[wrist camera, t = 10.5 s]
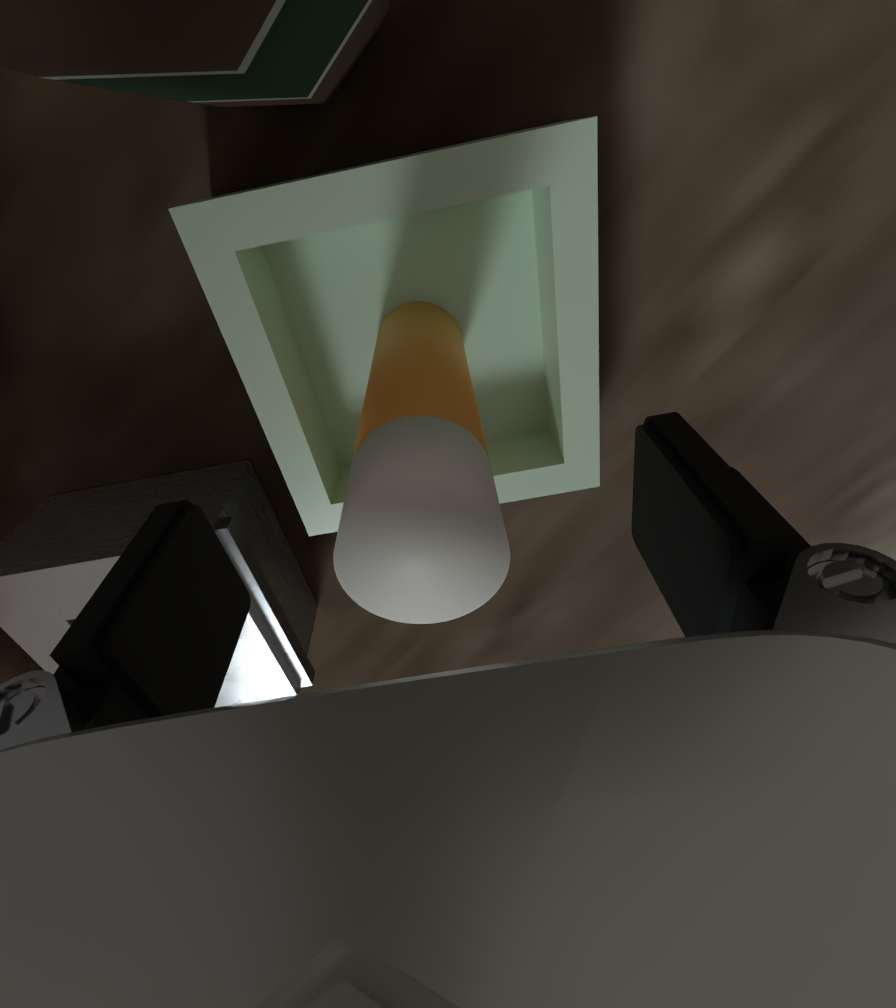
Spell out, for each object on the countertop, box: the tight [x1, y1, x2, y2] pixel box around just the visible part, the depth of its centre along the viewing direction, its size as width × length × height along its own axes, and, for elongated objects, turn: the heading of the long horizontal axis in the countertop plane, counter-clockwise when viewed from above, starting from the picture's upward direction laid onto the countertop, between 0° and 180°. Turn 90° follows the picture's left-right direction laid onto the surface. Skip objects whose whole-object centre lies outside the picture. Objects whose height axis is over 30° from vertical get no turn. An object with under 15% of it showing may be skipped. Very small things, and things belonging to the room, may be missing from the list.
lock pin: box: [333, 301, 510, 624], centre depth 15 cm, size 3×3×13 cm
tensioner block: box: [0, 459, 318, 708], centre depth 25 cm, size 10×11×6 cm
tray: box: [169, 116, 600, 536], centre depth 20 cm, size 12×12×4 cm
